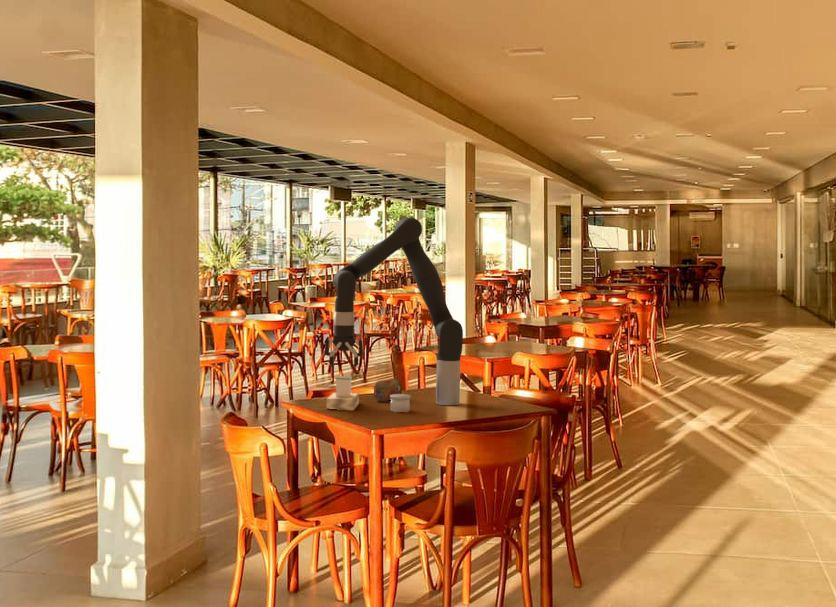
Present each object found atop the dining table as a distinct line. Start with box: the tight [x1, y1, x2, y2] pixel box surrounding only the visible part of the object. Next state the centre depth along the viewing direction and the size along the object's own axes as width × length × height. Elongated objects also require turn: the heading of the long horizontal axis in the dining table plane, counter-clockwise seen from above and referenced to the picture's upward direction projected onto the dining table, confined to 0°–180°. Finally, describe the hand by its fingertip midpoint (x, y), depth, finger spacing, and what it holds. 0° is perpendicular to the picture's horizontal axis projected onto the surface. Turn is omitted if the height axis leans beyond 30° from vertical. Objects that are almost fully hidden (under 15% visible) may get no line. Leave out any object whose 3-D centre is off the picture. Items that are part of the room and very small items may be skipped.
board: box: [326, 392, 360, 411], centre depth 353 cm, size 10×16×4 cm, turn 177°
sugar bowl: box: [390, 393, 411, 413], centre depth 345 cm, size 8×8×6 cm
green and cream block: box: [335, 375, 353, 397], centre depth 352 cm, size 5×5×7 cm
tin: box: [373, 378, 403, 403], centre depth 371 cm, size 15×3×8 cm, turn 143°
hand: (344, 366), depth 352 cm, fingers open, 8 cm apart
